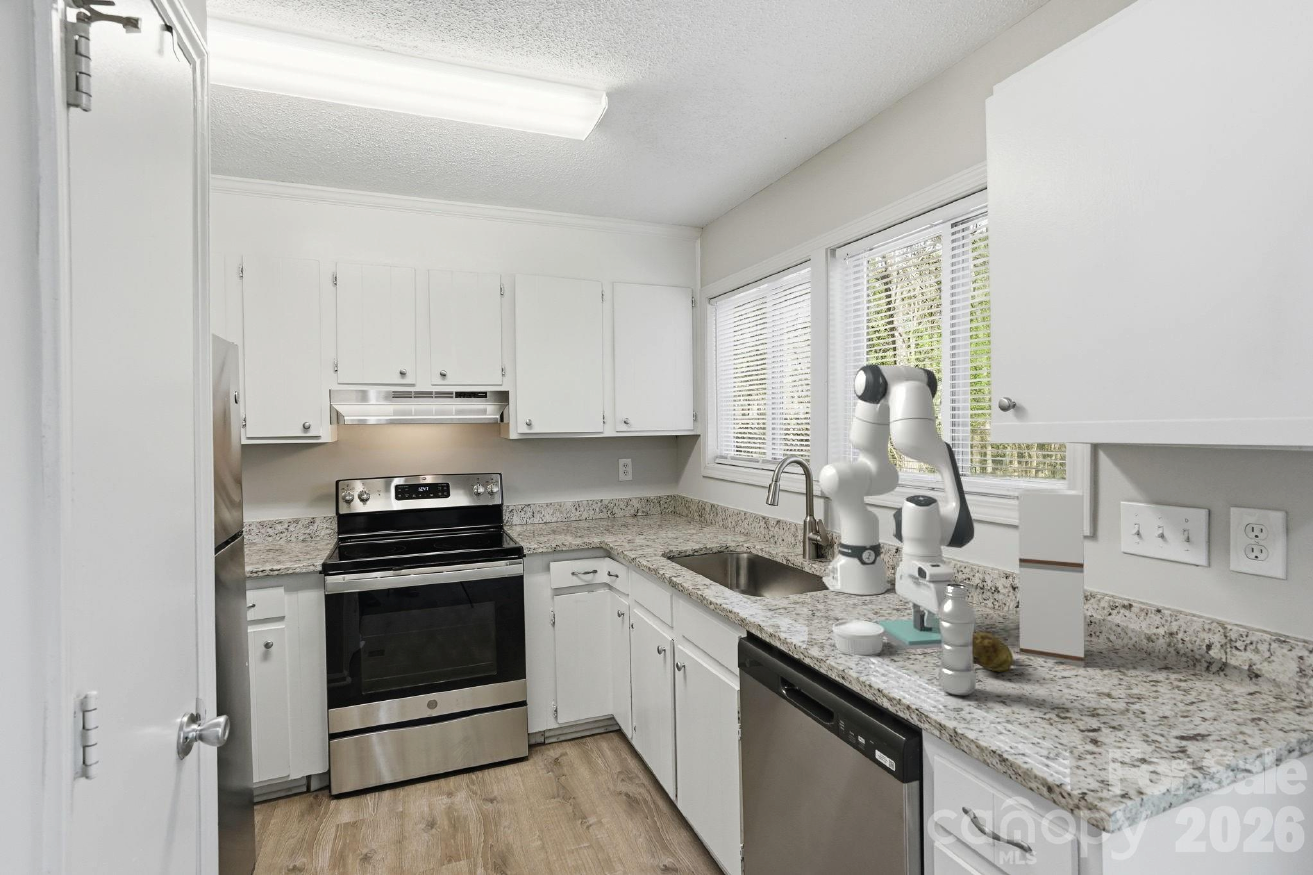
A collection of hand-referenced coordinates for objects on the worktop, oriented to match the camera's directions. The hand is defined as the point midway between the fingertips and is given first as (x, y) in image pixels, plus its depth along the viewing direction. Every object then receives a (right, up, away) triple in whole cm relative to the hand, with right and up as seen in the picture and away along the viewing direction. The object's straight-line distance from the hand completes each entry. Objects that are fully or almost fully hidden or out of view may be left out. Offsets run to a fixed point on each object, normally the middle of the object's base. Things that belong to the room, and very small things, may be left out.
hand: (922, 623), depth 155 cm
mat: (0, -3, 0) cm, 3 cm away
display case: (+22, -3, -14) cm, 26 cm away
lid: (0, -2, 0) cm, 2 cm away
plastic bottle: (-7, -4, -33) cm, 34 cm away
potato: (+5, -3, -22) cm, 23 cm away
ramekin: (-18, -4, -9) cm, 20 cm away
